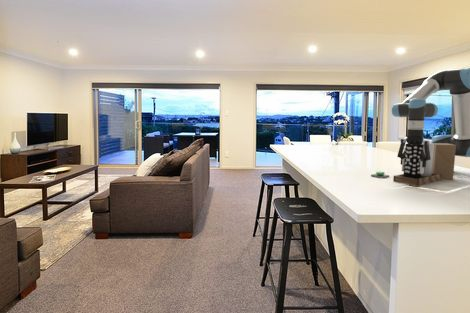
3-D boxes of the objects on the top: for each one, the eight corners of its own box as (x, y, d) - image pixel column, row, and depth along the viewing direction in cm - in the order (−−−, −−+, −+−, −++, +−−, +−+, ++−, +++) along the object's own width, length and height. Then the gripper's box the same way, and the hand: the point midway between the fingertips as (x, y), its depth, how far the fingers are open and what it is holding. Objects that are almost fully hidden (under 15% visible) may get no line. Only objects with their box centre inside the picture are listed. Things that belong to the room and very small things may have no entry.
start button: (378, 176, 202) (378, 171, 202) (385, 177, 199) (386, 172, 199) (374, 177, 200) (374, 171, 199) (381, 178, 196) (381, 173, 196)
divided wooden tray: (416, 178, 202) (417, 171, 201) (440, 181, 191) (441, 174, 191) (393, 183, 186) (393, 175, 186) (418, 187, 176) (418, 179, 176)
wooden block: (453, 181, 193) (456, 145, 190) (433, 180, 195) (436, 144, 192) (446, 178, 202) (449, 143, 200) (427, 177, 204) (429, 142, 202)
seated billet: (419, 177, 198) (421, 142, 196) (433, 180, 192) (436, 143, 189) (412, 179, 193) (414, 143, 191) (427, 181, 187) (430, 144, 184)
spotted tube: (402, 180, 190) (404, 143, 188) (419, 181, 188) (422, 144, 185) (403, 183, 182) (406, 144, 180) (421, 184, 180) (424, 145, 177)
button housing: (377, 176, 204) (377, 173, 204) (389, 178, 199) (389, 175, 199) (370, 178, 200) (371, 174, 200) (382, 180, 195) (382, 176, 194)
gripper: (391, 128, 188) (389, 170, 191) (434, 130, 171) (430, 176, 174) (398, 128, 192) (396, 168, 195) (440, 129, 175) (437, 174, 178)
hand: (412, 172), depth 184 cm, fingers open, 9 cm apart
